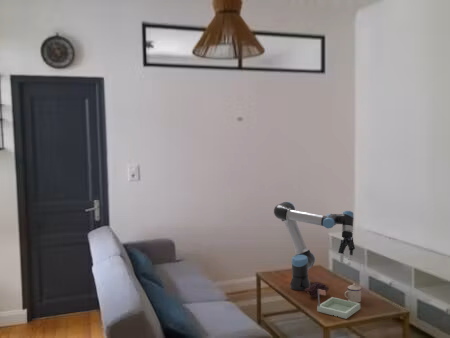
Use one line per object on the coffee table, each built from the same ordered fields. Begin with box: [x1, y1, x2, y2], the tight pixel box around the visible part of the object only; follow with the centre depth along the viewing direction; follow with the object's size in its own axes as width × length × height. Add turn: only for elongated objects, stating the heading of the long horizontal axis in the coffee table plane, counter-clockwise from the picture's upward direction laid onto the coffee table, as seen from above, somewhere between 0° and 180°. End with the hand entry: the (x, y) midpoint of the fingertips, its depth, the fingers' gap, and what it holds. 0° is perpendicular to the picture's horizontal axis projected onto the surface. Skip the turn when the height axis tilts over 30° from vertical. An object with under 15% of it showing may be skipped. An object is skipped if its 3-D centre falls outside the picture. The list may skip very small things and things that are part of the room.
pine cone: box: [304, 282, 330, 298], centre depth 307 cm, size 18×10×10 cm, turn 101°
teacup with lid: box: [344, 283, 362, 303], centre depth 297 cm, size 12×9×12 cm
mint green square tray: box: [316, 289, 361, 320], centre depth 282 cm, size 20×20×14 cm
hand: (345, 261), depth 310 cm, fingers open, 13 cm apart
